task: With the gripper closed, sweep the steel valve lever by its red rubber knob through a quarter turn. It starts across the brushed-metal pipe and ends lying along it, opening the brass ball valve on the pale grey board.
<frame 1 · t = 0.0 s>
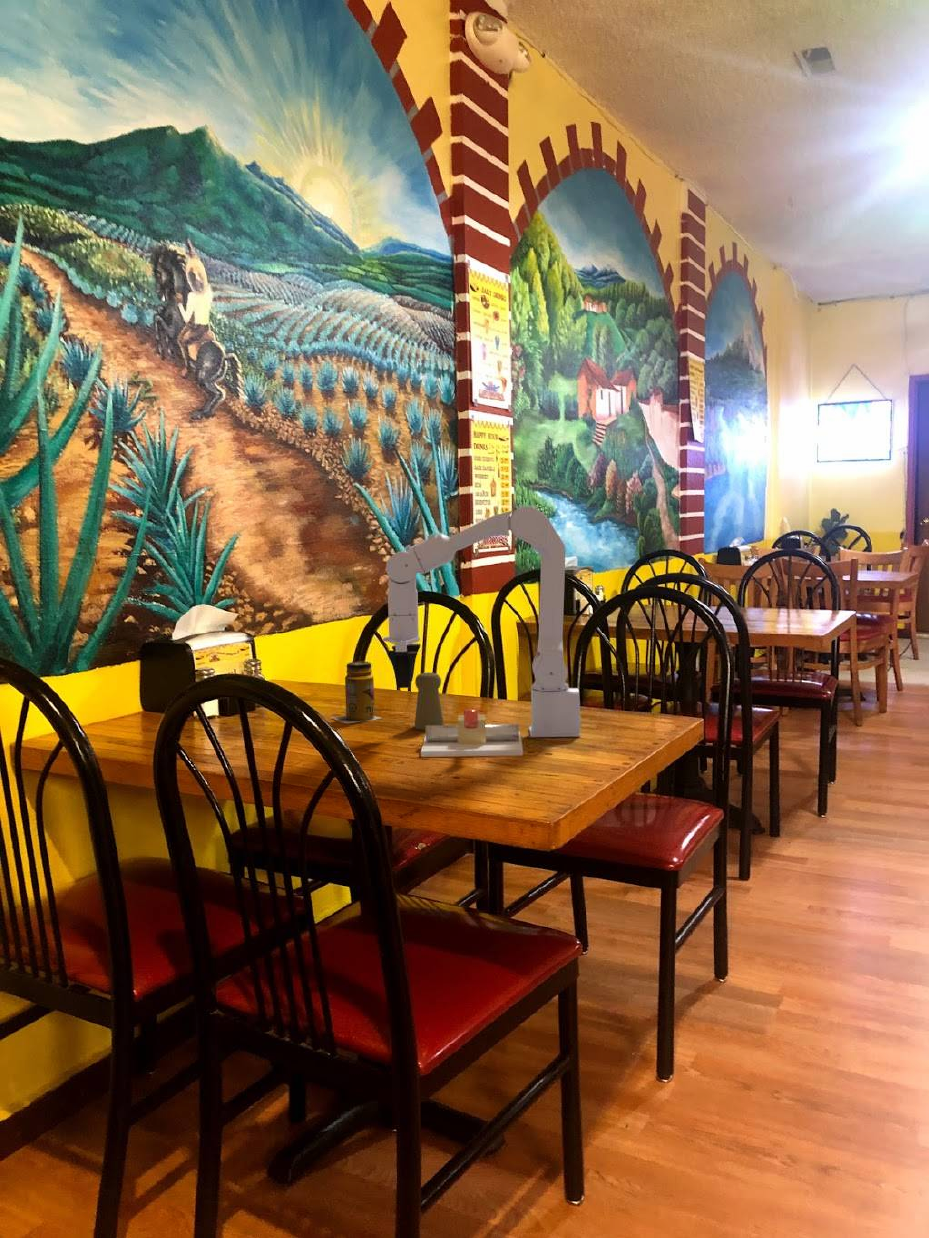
hand: (405, 684, 188), 10 cm above the table, tool pointing down, fingers open, 7 cm apart
condiment: (356, 720, 206), on the table
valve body: (472, 729, 178), on the valve board, point 3 cm above the table
valve lever: (471, 713, 173), point 7 cm above the table, hinge at 90.0°
olive tapered post: (429, 727, 196), on the table
valve board: (472, 746, 178), on the table
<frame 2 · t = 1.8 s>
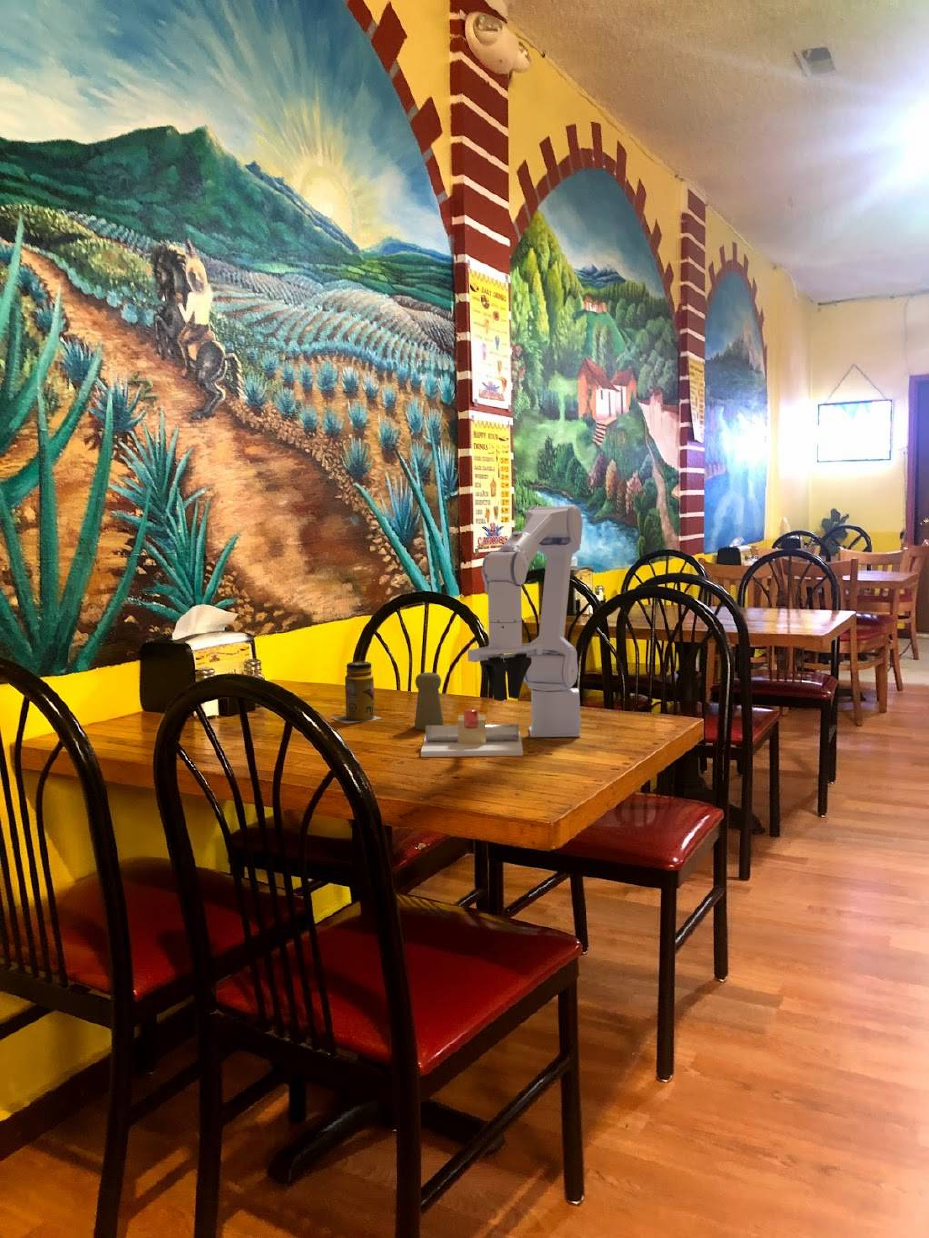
hand: (506, 699, 168), 10 cm above the table, tool pointing down, fingers open, 3 cm apart
nothing on the table moved.
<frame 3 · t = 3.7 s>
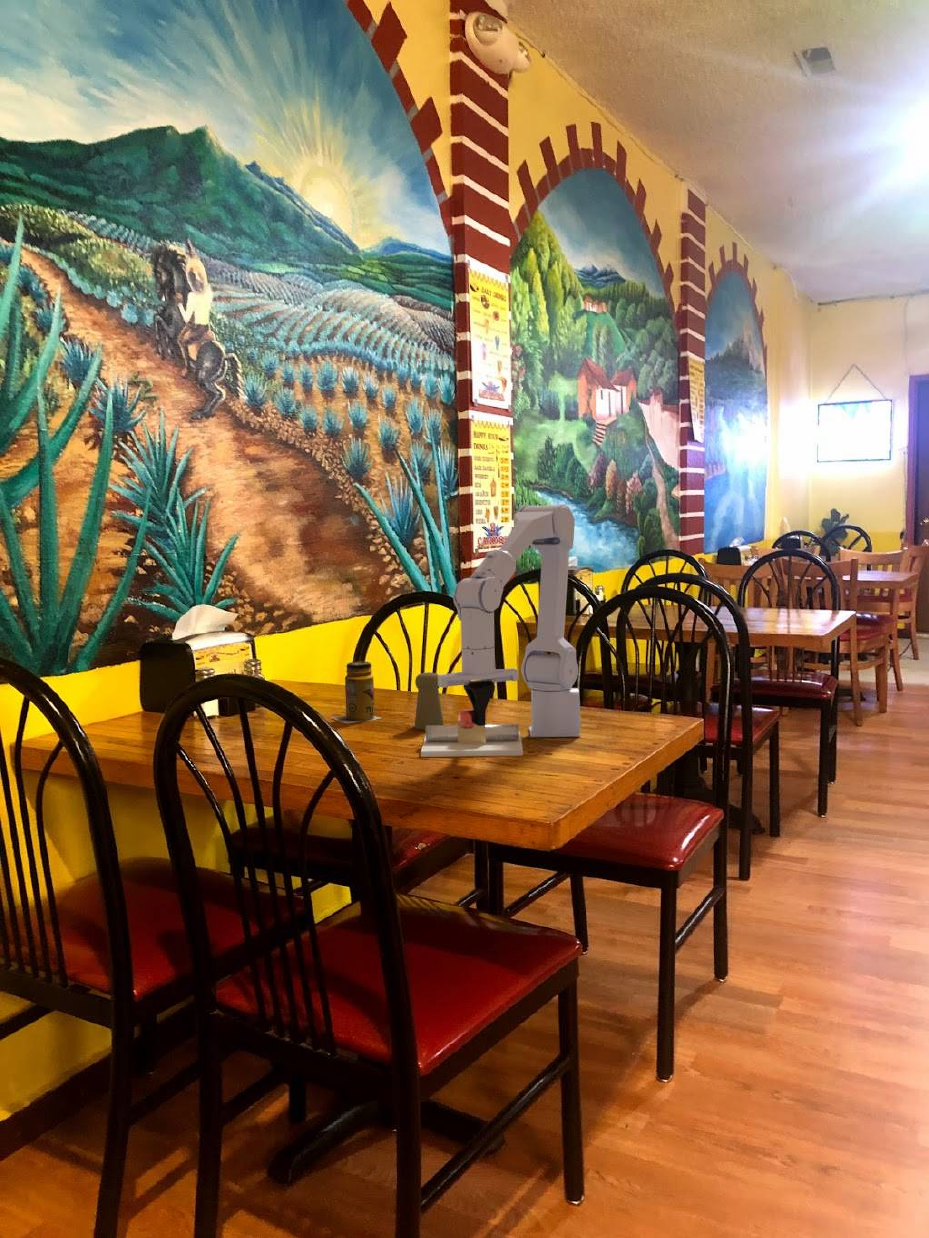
hand: (479, 724, 169), 6 cm above the table, tool pointing down, fingers closed
valve lever: (469, 713, 173), point 7 cm above the table, hinge at 85.8°, touching gripper
everything else where it was.
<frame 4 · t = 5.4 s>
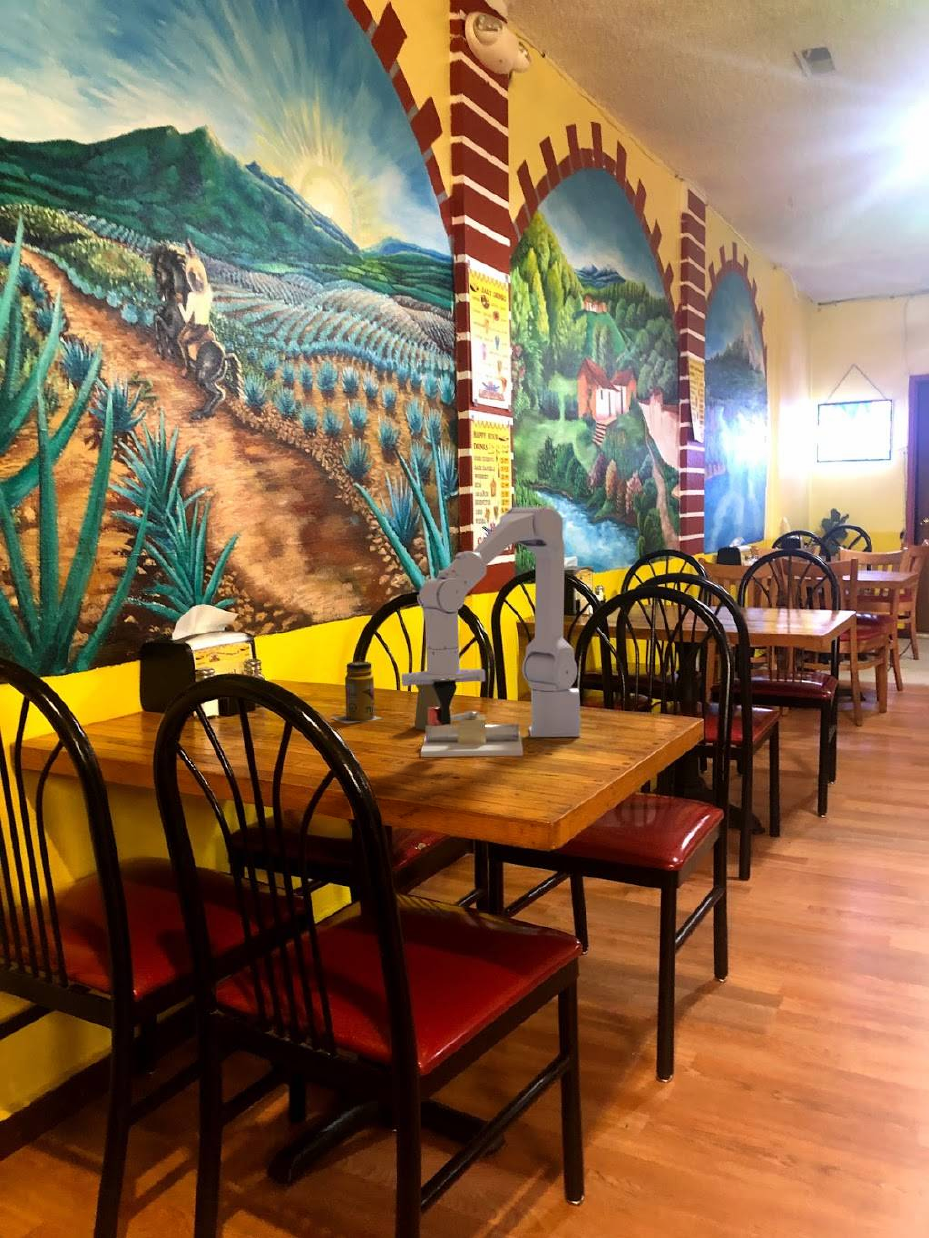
hand: (445, 723, 171), 6 cm above the table, tool pointing down, fingers closed, pressing on valve lever
valve lever: (453, 712, 175), point 7 cm above the table, hinge at 43.7°, touching gripper
everything else where it was.
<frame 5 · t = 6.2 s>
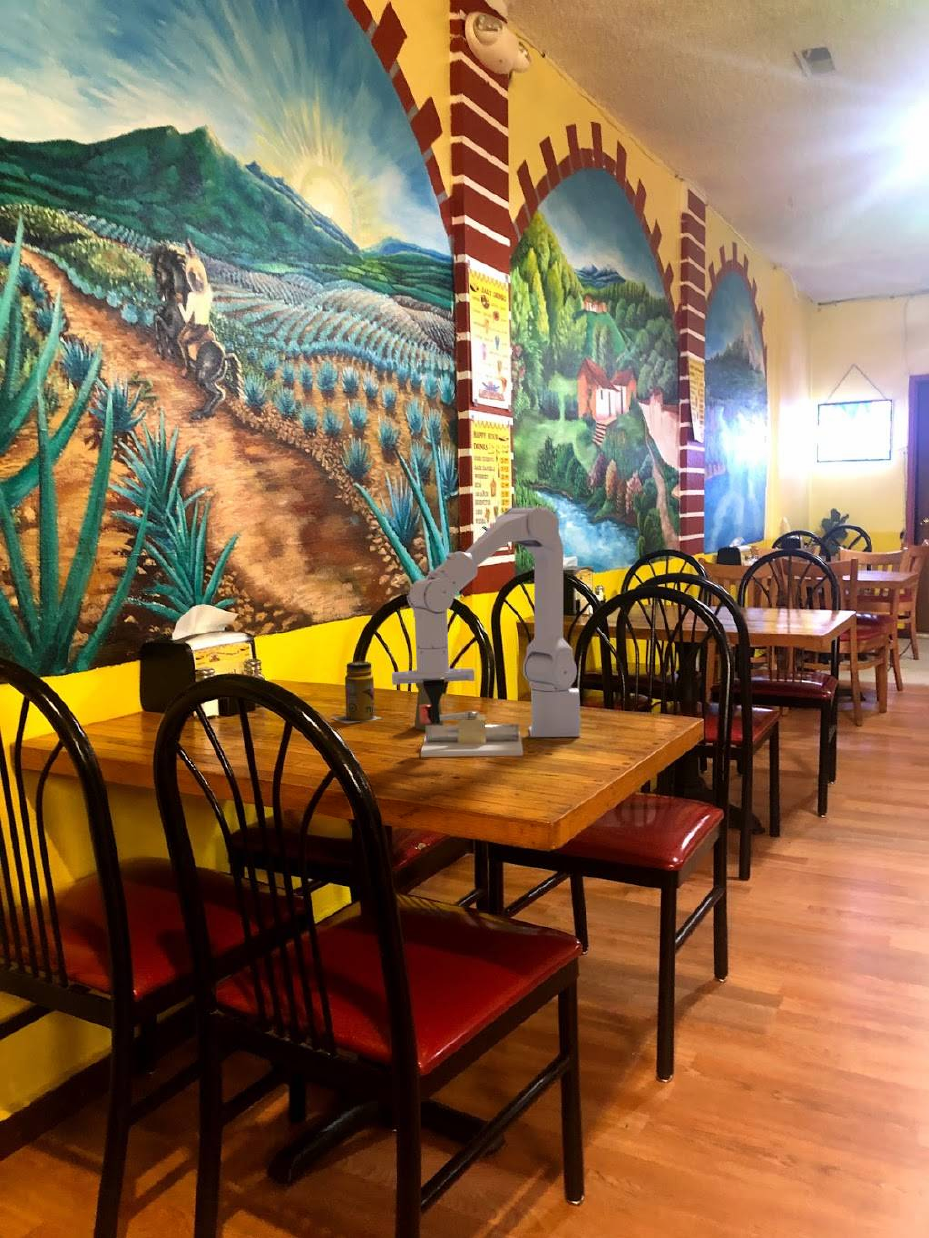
hand: (434, 722, 172), 6 cm above the table, tool pointing down, fingers closed, pressing on valve lever
valve lever: (449, 711, 176), point 7 cm above the table, hinge at 25.2°, touching gripper
everything else where it was.
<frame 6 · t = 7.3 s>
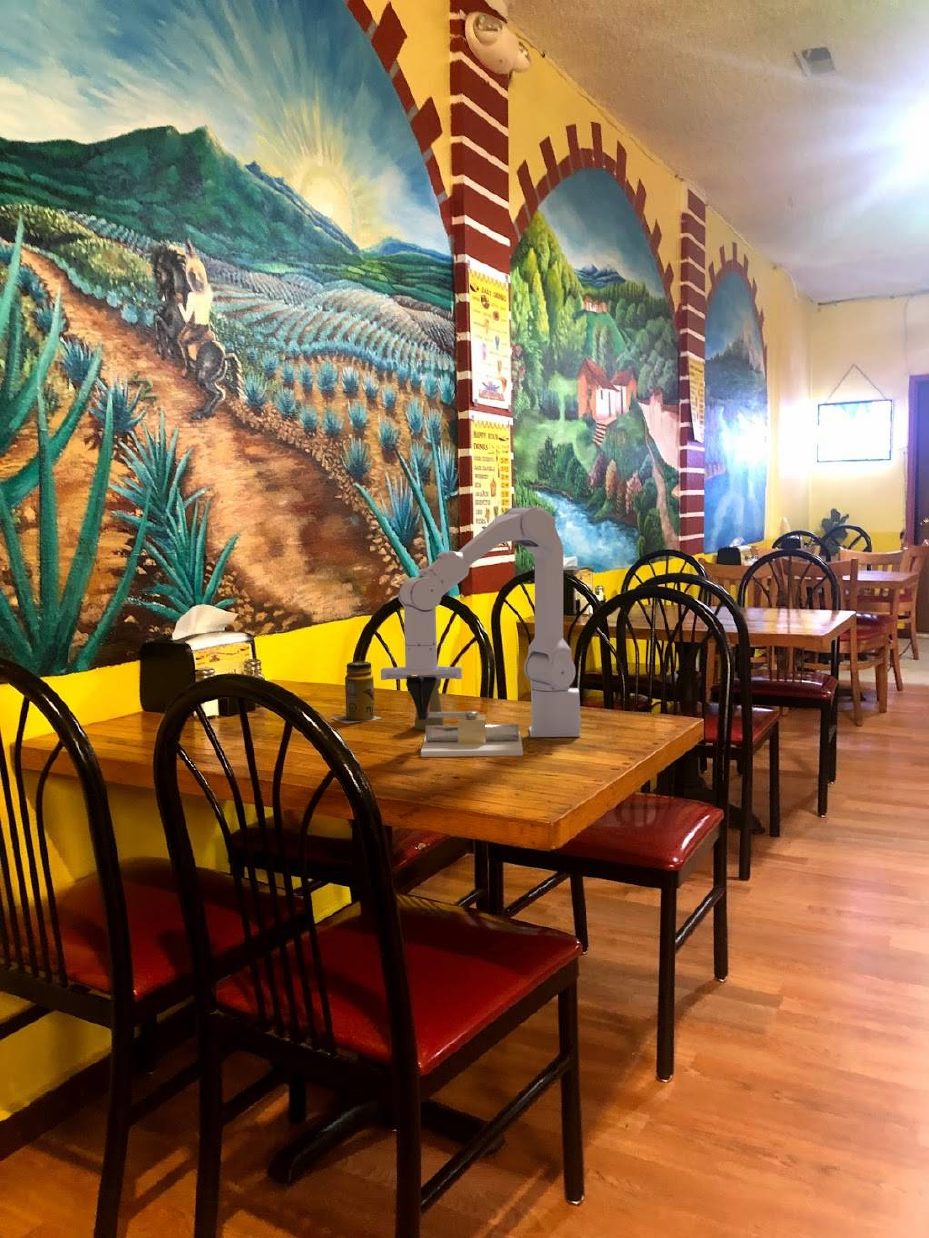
hand: (422, 718, 175), 6 cm above the table, tool pointing down, fingers closed
valve lever: (447, 709, 178), point 7 cm above the table, hinge at -1.4°
everything else where it was.
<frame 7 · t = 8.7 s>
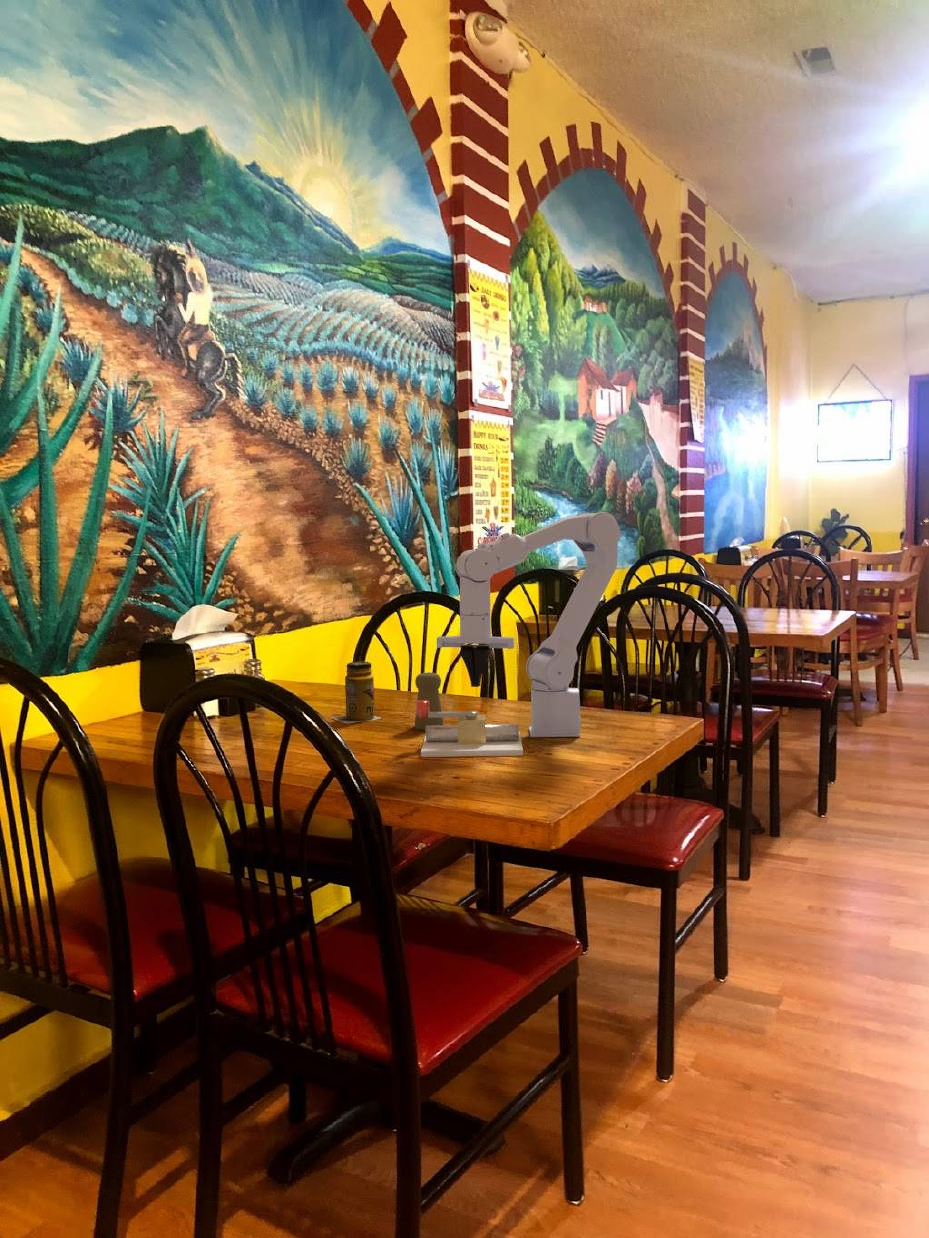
hand: (475, 686, 182), 10 cm above the table, tool pointing down, fingers closed
nothing on the table moved.
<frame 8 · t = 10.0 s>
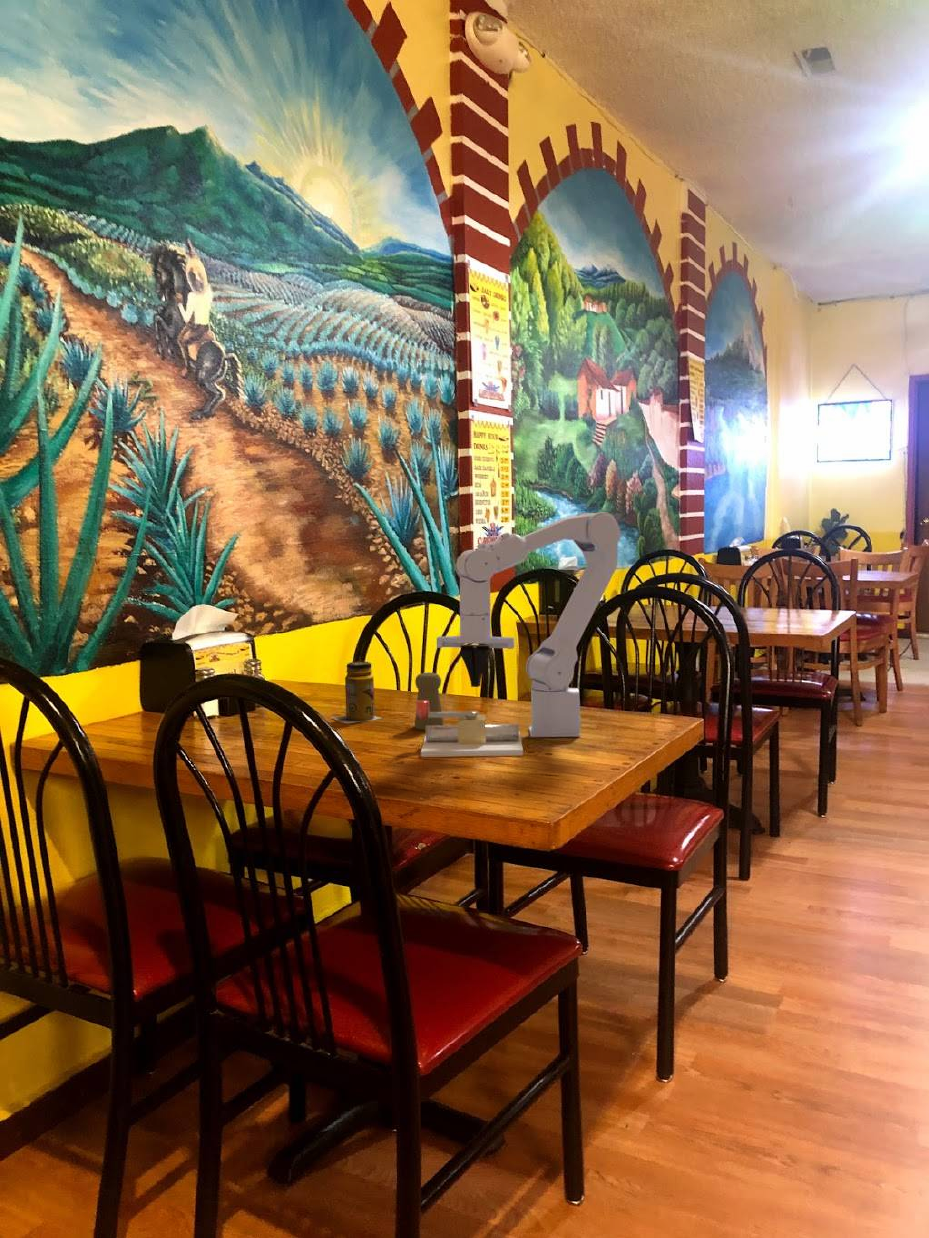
hand: (475, 686, 182), 10 cm above the table, tool pointing down, fingers closed
nothing on the table moved.
at the end: valve lever at -2° (first picture: +90°); olive tapered post moved 0.2 cm from its start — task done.
